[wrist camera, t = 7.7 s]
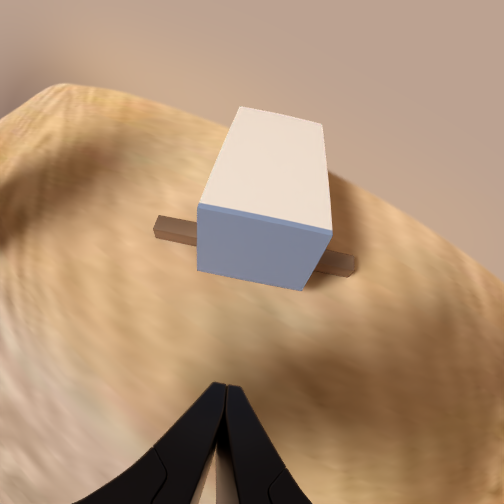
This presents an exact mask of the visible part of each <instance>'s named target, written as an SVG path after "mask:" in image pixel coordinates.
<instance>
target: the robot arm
mask: <svg viewBox="0 0 504 504" xmlns="http://www.w3.org/2000/svg"><path fill="white" fill-rule="evenodd" d="M216 444H217V445H216ZM215 449H216V504H312V503H311V501H310V500H309V499H308V498H307V497H306V495H305V494H304V493H303V492H302V490H301V489H300V487H299V486H298V484H297V483H296V481H295V480H294V479H293V477H292V475H291V474H290V472H289V470H288V469H287V468H286V466H285V464H284V462H283V461H282V459H281V457H280V456H279V454H278V452H277V451H276V449H275V447H274V445H273V444H272V442H271V440H270V439H269V437H268V435H267V433H266V432H265V430H264V428H263V426H262V424H261V423H260V421H259V419H258V417H257V415H256V414H255V412H254V410H253V408H252V406H251V404H250V403H249V401H248V399H247V397H246V395H245V393H244V391H243V389H242V388H241V387H240V386H236V385H230V384H229V385H226V384H224V383H219V382H212V383H211V384H210V386H209V387H208V388H207V389H206V390H205V391H204V392H203V393H202V394H201V396H200V397H199V398H198V399H197V400H196V401H195V402H194V403H193V404H192V405H191V406H190V407H189V409H188V410H187V411H186V412H185V413H184V414H183V415H182V416H181V417H180V418H179V419H178V420H177V421H176V422H175V423H174V425H173V426H172V427H171V428H170V429H169V430H168V431H167V432H166V433H165V434H164V435H163V436H162V437H161V438H160V439H159V440H158V441H157V442H156V443H155V444H154V445H153V447H151V448H150V449H149V450H148V451H147V452H146V453H145V454H144V455H143V456H142V457H141V458H140V459H139V460H138V461H136V462H135V463H134V464H133V465H132V466H131V467H129V468H128V469H127V470H125V471H124V472H123V473H121V474H120V475H119V476H117V477H116V478H114V479H113V480H111V481H110V482H108V483H107V484H105V485H104V486H102V487H101V488H99V489H98V490H96V491H94V492H93V493H91V494H90V495H88V496H86V497H85V498H83V499H81V500H79V501H77V502H75V503H72V504H198V503H199V500H200V497H201V494H202V491H203V488H204V485H205V481H206V478H207V475H208V472H209V469H210V466H211V462H212V459H213V456H214V452H215Z"/></svg>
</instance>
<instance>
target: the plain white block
mask: <svg viewBox="0 0 504 504" xmlns="http://www.w3.org/2000/svg"><path fill="white" fill-rule="evenodd" d="M332 236H333V234H332V218H331V204H330V192H329V181H328V171H327V162H326V153H325V145H324V137H323V130H322V124H319V123H315V122H312V121H308V120H304V119H299V118H296V117H291V116H287V115H282V114H277V113H273V112H268V111H263V110H258V109H252V108H247V107H241V106H240V107H239V110H238V112H237V114H236V116H235V119H234V121H233V123H232V125H231V127H230V130H229V132H228V134H227V136H226V139H225V141H224V143H223V146H222V148H221V150H220V153H219V155H218V157H217V160H216V162H215V165H214V167H213V169H212V172H211V174H210V177H209V179H208V182H207V184H206V187H205V189H204V192H203V194H202V197H201V199H200V202H199V204H198V207H197V271H202V272H207V273H212V274H216V275H221V276H226V277H231V278H236V279H241V280H246V281H251V282H256V283H261V284H266V285H272V286H277V287H282V288H287V289H293V290H298V291H302V290H303V288H304V286H305V284H306V283H307V281H308V279H309V278H310V276H311V274H312V272H313V271H314V269H315V267H316V265H317V263H318V262H319V260H320V258H321V256H322V254H323V253H324V251H325V249H326V247H327V245H328V244H329V242H330V240H331V238H332Z"/></svg>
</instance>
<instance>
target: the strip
mask: <svg viewBox="0 0 504 504" xmlns="http://www.w3.org/2000/svg"><path fill="white" fill-rule="evenodd" d="M153 230H154V233H155V237H156V238H159V239H164V240H169V241H173V242H178V243H183V244H188V245H192V246H197V222H192V221H186V220H181V219H176V218H171V217H166V216H161V215H159V216H158V218H157V220H156V223H155V225H154V228H153ZM314 271H318V272H323V273H328V274H333V275H338V276H343V277H349V276H350V275H351V274H352V273H353V271H354V256H352V255H348V254H343V253H339V252H334V251H330V250H325V251H324V253H323V254H322V256H321V258H320V260H319V262H318V263H317V265H316V267H315V269H314Z"/></svg>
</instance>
